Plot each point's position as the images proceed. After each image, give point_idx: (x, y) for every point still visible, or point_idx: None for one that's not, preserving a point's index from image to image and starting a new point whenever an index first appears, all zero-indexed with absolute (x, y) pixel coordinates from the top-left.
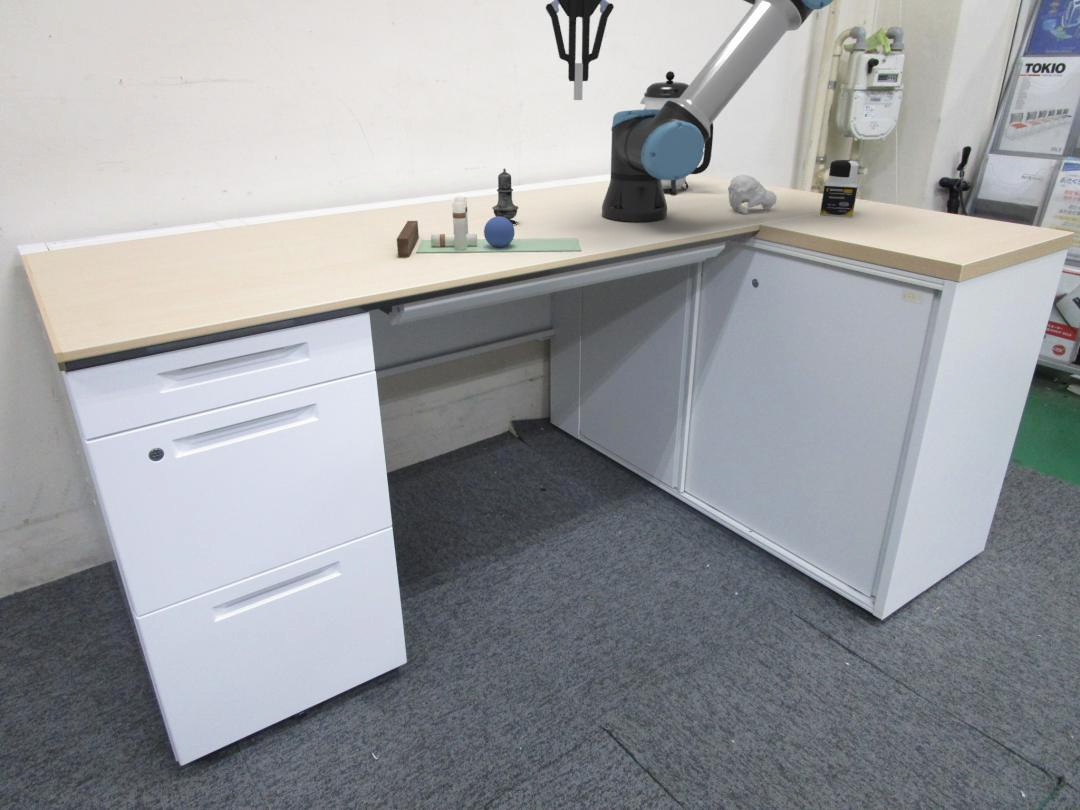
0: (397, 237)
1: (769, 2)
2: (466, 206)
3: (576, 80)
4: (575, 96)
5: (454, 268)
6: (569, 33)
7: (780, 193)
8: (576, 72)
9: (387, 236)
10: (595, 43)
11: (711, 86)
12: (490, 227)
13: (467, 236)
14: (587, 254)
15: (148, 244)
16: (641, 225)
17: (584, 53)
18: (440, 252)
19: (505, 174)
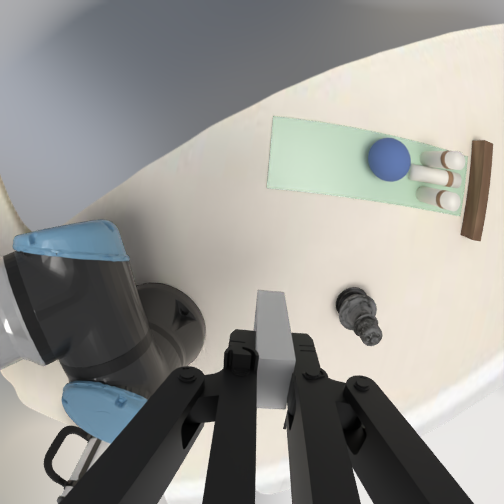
0: (492, 149)
1: None
2: (441, 195)
3: (283, 321)
4: (282, 297)
5: (430, 77)
6: (351, 476)
7: (17, 384)
8: (286, 337)
9: (484, 247)
10: (174, 419)
11: None
12: (405, 146)
13: (424, 168)
14: (267, 98)
15: None
16: (157, 264)
17: (247, 391)
18: (446, 150)
19: (373, 333)
